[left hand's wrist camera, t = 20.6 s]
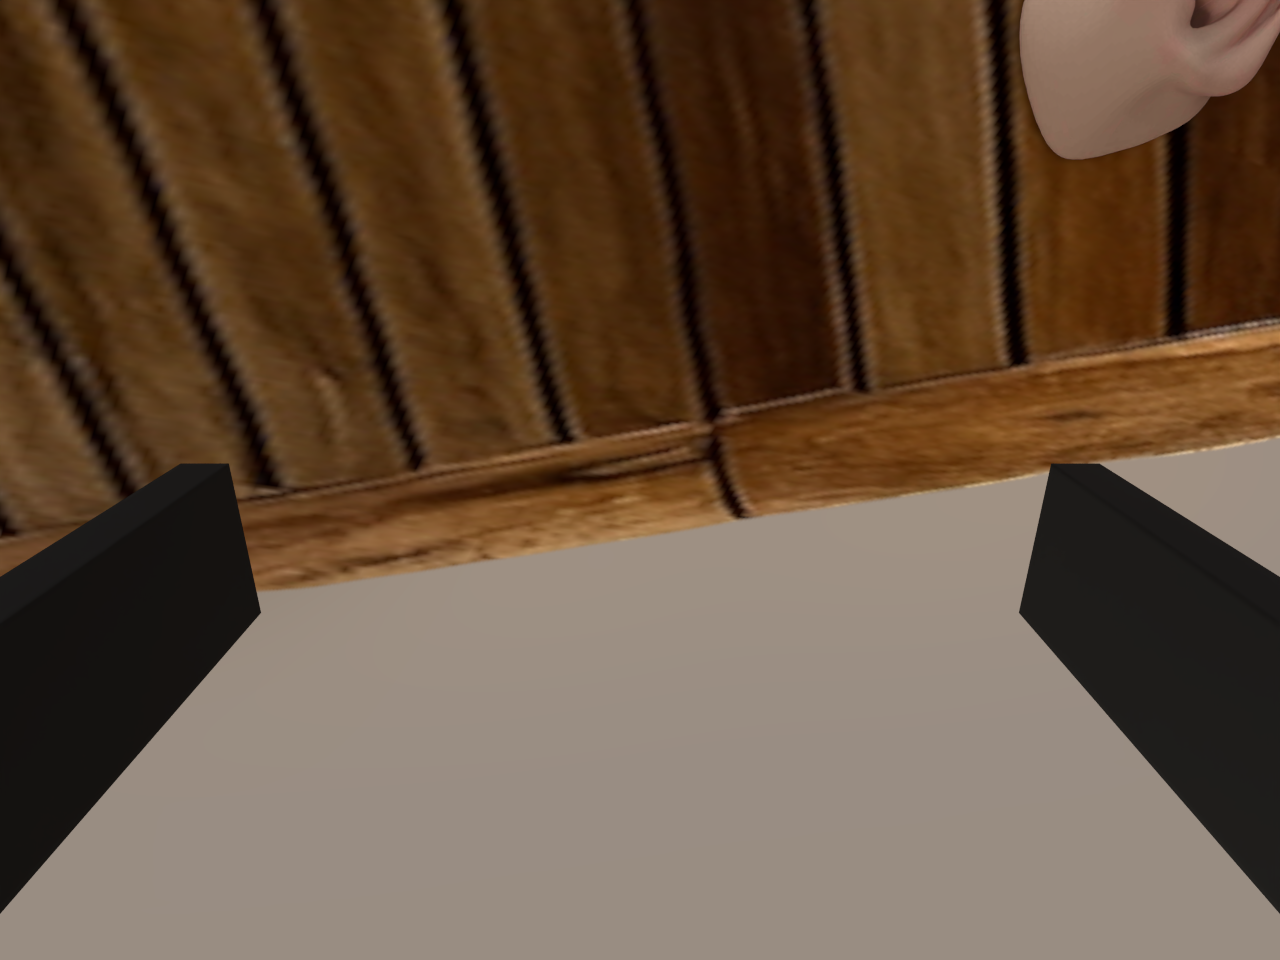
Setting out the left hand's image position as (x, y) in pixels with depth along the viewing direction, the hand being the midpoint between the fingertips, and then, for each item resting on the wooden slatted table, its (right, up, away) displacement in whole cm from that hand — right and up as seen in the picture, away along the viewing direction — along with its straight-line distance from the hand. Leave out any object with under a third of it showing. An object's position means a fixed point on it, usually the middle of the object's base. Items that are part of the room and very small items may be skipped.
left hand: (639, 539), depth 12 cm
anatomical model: (+24, +23, +23) cm, 40 cm away
